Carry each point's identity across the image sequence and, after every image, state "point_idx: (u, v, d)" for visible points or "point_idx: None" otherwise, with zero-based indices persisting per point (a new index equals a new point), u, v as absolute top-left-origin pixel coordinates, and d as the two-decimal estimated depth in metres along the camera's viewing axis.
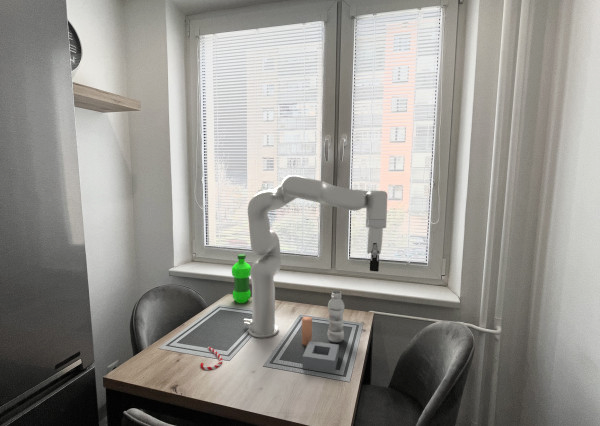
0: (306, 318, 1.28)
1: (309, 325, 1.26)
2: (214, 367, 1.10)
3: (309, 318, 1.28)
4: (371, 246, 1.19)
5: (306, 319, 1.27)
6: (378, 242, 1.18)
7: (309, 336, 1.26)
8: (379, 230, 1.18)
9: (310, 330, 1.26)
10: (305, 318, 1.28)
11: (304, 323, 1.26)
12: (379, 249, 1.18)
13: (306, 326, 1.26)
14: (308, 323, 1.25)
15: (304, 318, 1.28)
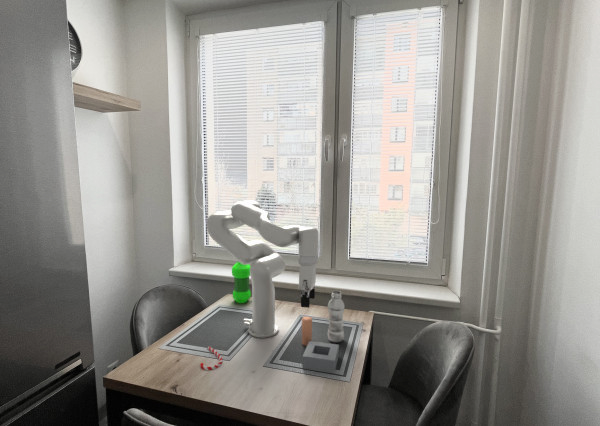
0: (306, 318, 1.28)
1: (309, 325, 1.26)
2: (214, 367, 1.10)
3: (309, 318, 1.28)
4: (301, 283, 1.21)
5: (306, 319, 1.27)
6: (308, 279, 1.20)
7: (309, 336, 1.26)
8: (309, 267, 1.21)
9: (310, 330, 1.26)
10: (305, 318, 1.28)
11: (304, 323, 1.26)
12: (309, 286, 1.21)
13: (306, 326, 1.26)
14: (308, 323, 1.25)
15: (304, 318, 1.28)
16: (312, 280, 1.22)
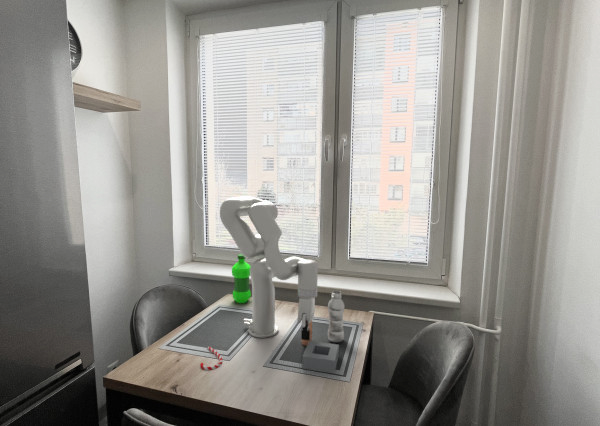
0: None
1: (309, 325, 1.26)
2: (214, 367, 1.10)
3: None
4: (300, 316, 1.22)
5: None
6: (307, 313, 1.22)
7: None
8: (308, 301, 1.22)
9: (310, 330, 1.26)
10: None
11: None
12: (308, 319, 1.22)
13: None
14: None
15: None
16: (311, 313, 1.24)
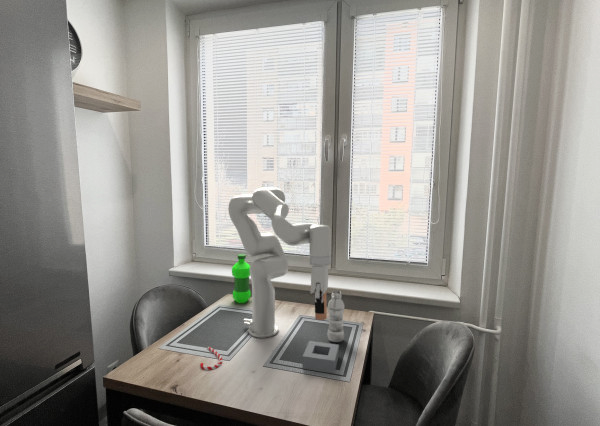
0: None
1: (323, 297, 1.13)
2: (214, 367, 1.10)
3: None
4: (314, 286, 1.10)
5: None
6: (321, 282, 1.09)
7: (324, 309, 1.14)
8: (322, 268, 1.10)
9: (325, 303, 1.14)
10: None
11: None
12: (322, 289, 1.10)
13: None
14: None
15: None
16: (325, 283, 1.11)
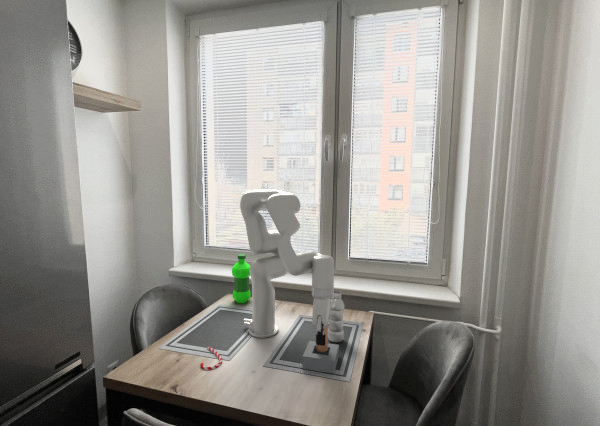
0: None
1: (325, 329, 1.12)
2: (214, 367, 1.10)
3: None
4: (315, 318, 1.08)
5: None
6: (323, 315, 1.08)
7: (325, 341, 1.12)
8: (324, 301, 1.08)
9: (326, 334, 1.12)
10: None
11: None
12: (324, 322, 1.08)
13: (322, 329, 1.11)
14: None
15: None
16: (327, 315, 1.10)
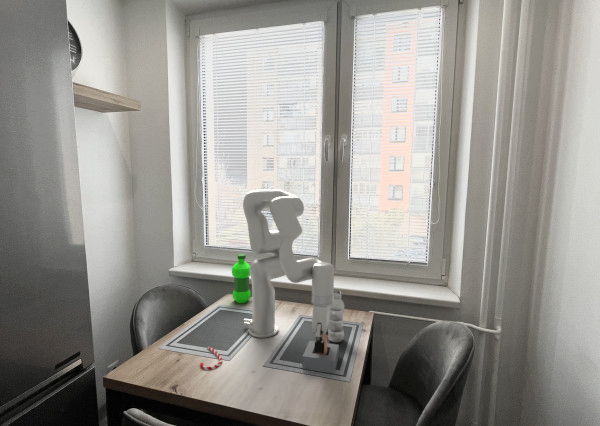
0: None
1: (324, 343, 1.12)
2: (214, 367, 1.10)
3: (324, 335, 1.14)
4: (315, 326, 1.09)
5: (321, 335, 1.13)
6: (323, 322, 1.08)
7: None
8: (324, 308, 1.08)
9: (325, 348, 1.13)
10: (320, 335, 1.14)
11: None
12: (324, 329, 1.08)
13: None
14: None
15: None
16: (327, 322, 1.10)
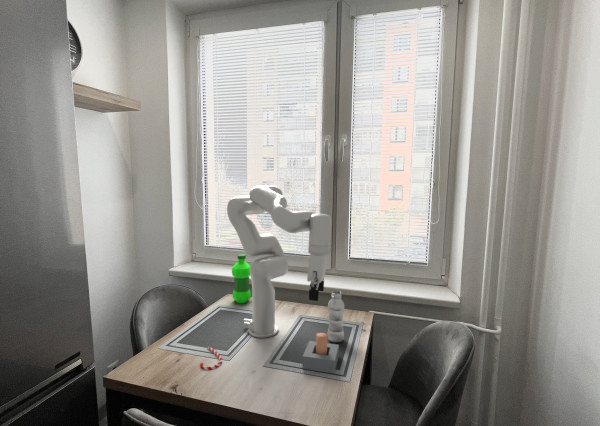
0: (320, 334, 1.14)
1: (324, 343, 1.12)
2: (214, 367, 1.10)
3: (324, 334, 1.14)
4: (311, 274, 1.11)
5: (320, 335, 1.14)
6: (318, 271, 1.10)
7: None
8: (320, 257, 1.10)
9: (325, 348, 1.13)
10: (319, 335, 1.14)
11: (318, 341, 1.12)
12: (319, 277, 1.10)
13: (321, 343, 1.12)
14: (323, 340, 1.12)
15: (318, 335, 1.14)
16: (322, 271, 1.12)
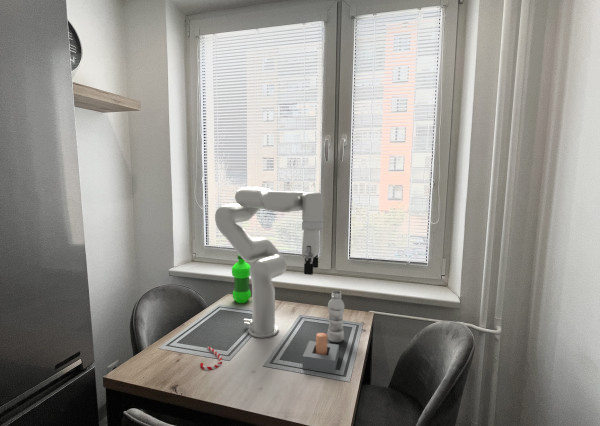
0: (320, 334, 1.14)
1: (324, 343, 1.12)
2: (214, 367, 1.10)
3: (324, 335, 1.14)
4: (305, 249, 1.16)
5: (321, 335, 1.14)
6: (312, 245, 1.16)
7: None
8: (313, 233, 1.16)
9: (325, 348, 1.13)
10: (320, 335, 1.14)
11: (318, 341, 1.12)
12: (313, 252, 1.16)
13: (321, 343, 1.12)
14: (323, 340, 1.12)
15: (318, 335, 1.14)
16: (316, 246, 1.18)
